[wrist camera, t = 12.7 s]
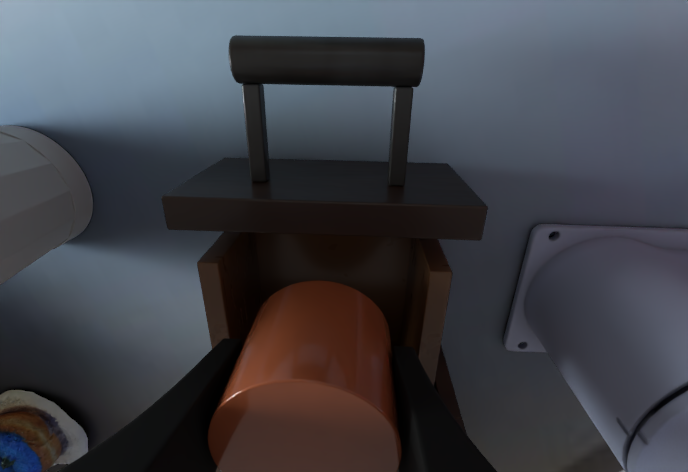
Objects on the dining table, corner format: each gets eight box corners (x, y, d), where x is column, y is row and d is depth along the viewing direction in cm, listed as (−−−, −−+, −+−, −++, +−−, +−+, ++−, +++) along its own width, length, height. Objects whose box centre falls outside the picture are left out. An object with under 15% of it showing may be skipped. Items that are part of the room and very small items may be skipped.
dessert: (-2, 376, 23) (-24, 480, 20) (110, 375, 28) (107, 458, 25) (-36, 423, 27) (-61, 520, 23) (69, 414, 31) (62, 493, 28)
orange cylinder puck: (395, 282, 12) (411, 385, 8) (385, 391, 15) (394, 516, 10) (247, 276, 13) (191, 375, 8) (259, 385, 15) (220, 505, 11)
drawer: (209, 43, 15) (124, 26, 9) (464, 46, 14) (523, 32, 9) (249, 360, 22) (213, 452, 17) (419, 369, 22) (438, 465, 16)
